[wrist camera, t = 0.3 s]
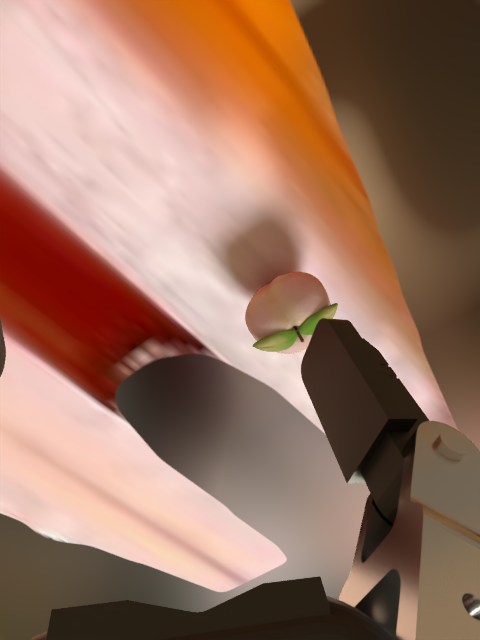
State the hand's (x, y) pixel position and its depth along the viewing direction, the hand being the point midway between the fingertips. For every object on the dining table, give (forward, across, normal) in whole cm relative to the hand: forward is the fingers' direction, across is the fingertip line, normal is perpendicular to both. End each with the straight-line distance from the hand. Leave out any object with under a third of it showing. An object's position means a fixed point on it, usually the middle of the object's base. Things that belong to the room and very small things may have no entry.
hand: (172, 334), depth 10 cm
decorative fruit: (+29, +15, -14) cm, 35 cm away
